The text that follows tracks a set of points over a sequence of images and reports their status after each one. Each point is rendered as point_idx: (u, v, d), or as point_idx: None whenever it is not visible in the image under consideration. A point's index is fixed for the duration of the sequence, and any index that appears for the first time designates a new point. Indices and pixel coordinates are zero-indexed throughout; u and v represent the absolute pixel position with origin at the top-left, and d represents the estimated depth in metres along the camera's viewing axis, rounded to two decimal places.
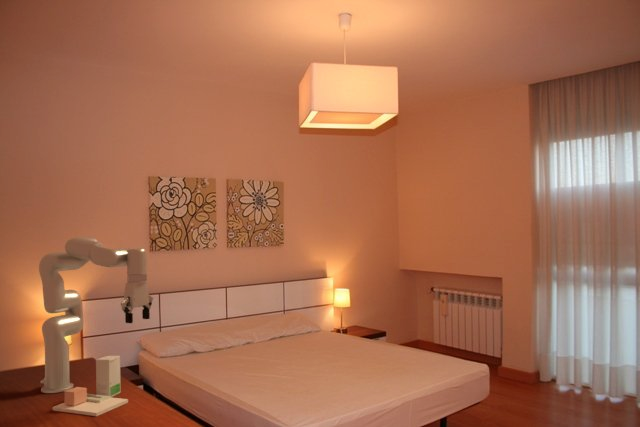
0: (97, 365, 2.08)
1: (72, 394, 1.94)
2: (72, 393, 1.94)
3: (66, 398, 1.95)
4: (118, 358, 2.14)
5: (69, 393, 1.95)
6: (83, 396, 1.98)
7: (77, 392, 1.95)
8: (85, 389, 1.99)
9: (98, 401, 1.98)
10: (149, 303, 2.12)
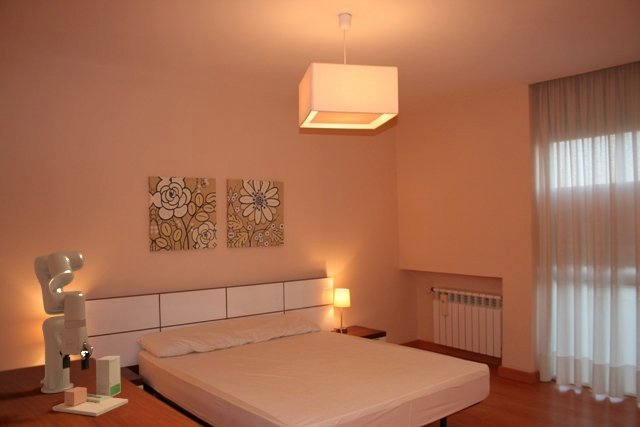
0: (97, 365, 2.08)
1: (72, 394, 1.94)
2: (72, 393, 1.94)
3: (66, 398, 1.95)
4: (118, 358, 2.14)
5: (69, 393, 1.95)
6: (83, 396, 1.98)
7: (77, 392, 1.95)
8: (85, 389, 1.99)
9: (98, 401, 1.98)
10: None
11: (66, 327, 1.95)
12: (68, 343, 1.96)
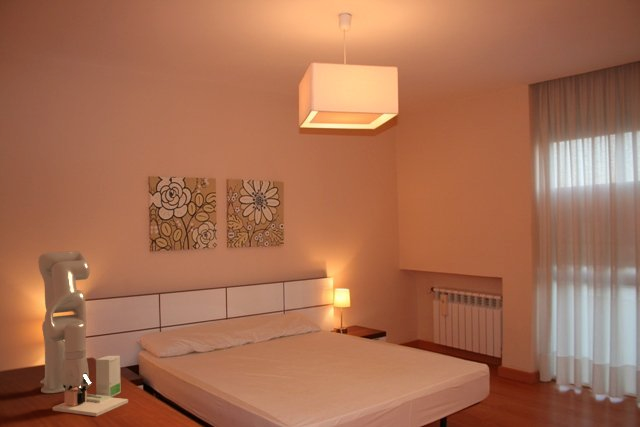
0: (97, 365, 2.08)
1: (72, 394, 1.94)
2: (72, 393, 1.94)
3: (66, 398, 1.95)
4: (118, 358, 2.14)
5: (69, 393, 1.95)
6: None
7: (77, 392, 1.95)
8: None
9: (98, 401, 1.98)
10: None
11: (66, 358, 1.95)
12: (69, 374, 1.95)
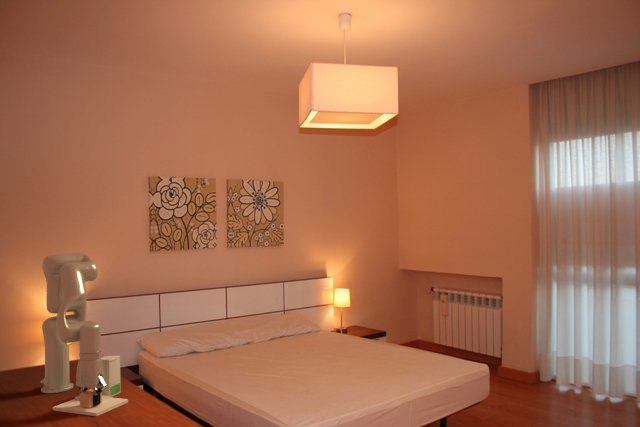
0: None
1: (87, 396, 1.91)
2: (87, 395, 1.91)
3: (82, 400, 1.92)
4: (118, 358, 2.14)
5: (84, 395, 1.92)
6: None
7: (92, 394, 1.93)
8: None
9: None
10: None
11: (82, 360, 1.92)
12: (84, 376, 1.93)
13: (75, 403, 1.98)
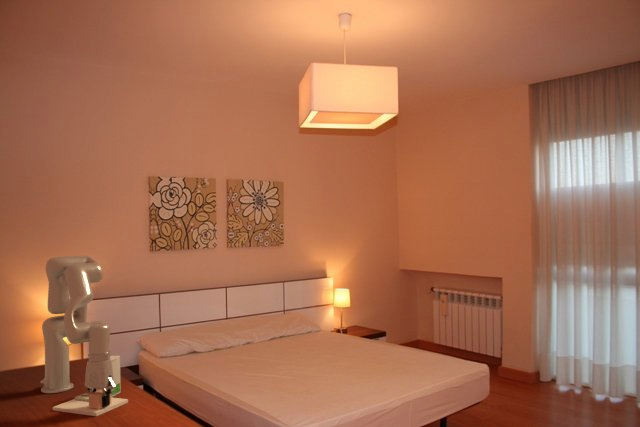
0: None
1: (97, 397, 1.90)
2: (97, 396, 1.90)
3: (91, 401, 1.91)
4: (118, 358, 2.14)
5: (94, 396, 1.90)
6: None
7: (102, 395, 1.91)
8: None
9: None
10: None
11: (91, 360, 1.90)
12: (93, 377, 1.91)
13: (75, 403, 1.98)
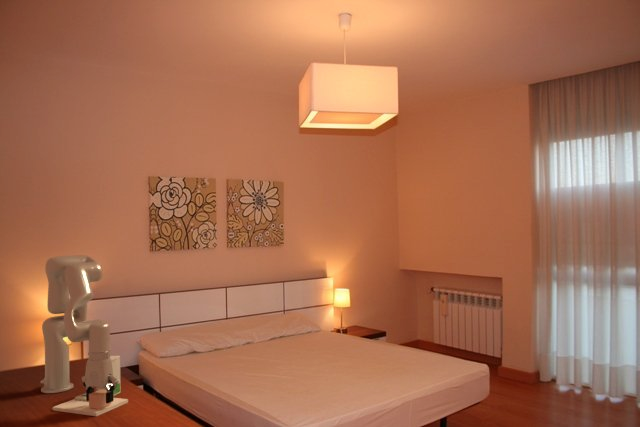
0: None
1: (97, 397, 1.90)
2: (97, 396, 1.90)
3: (91, 401, 1.91)
4: (118, 358, 2.14)
5: (94, 396, 1.90)
6: None
7: (102, 395, 1.91)
8: None
9: None
10: None
11: (91, 359, 1.90)
12: (93, 375, 1.91)
13: (75, 403, 1.98)
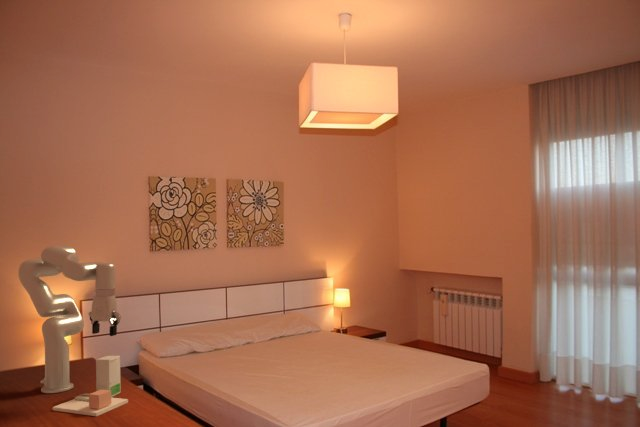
0: (97, 365, 2.08)
1: (97, 397, 1.90)
2: (97, 396, 1.90)
3: (91, 401, 1.91)
4: (118, 358, 2.14)
5: (94, 396, 1.90)
6: (108, 399, 1.93)
7: (102, 395, 1.91)
8: (110, 392, 1.94)
9: None
10: None
11: (97, 295, 2.08)
12: (98, 310, 2.08)
13: (75, 403, 1.98)
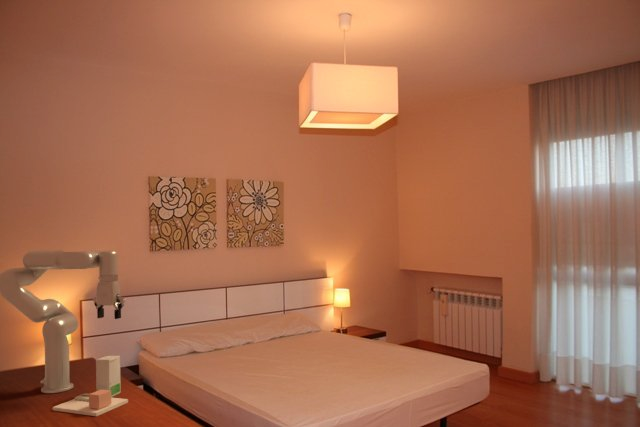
0: (97, 365, 2.08)
1: (97, 397, 1.90)
2: (97, 396, 1.90)
3: (91, 401, 1.91)
4: (118, 358, 2.14)
5: (94, 396, 1.90)
6: (108, 399, 1.93)
7: (102, 395, 1.91)
8: (110, 392, 1.94)
9: None
10: None
11: (101, 281, 2.20)
12: (103, 295, 2.20)
13: (75, 403, 1.98)
